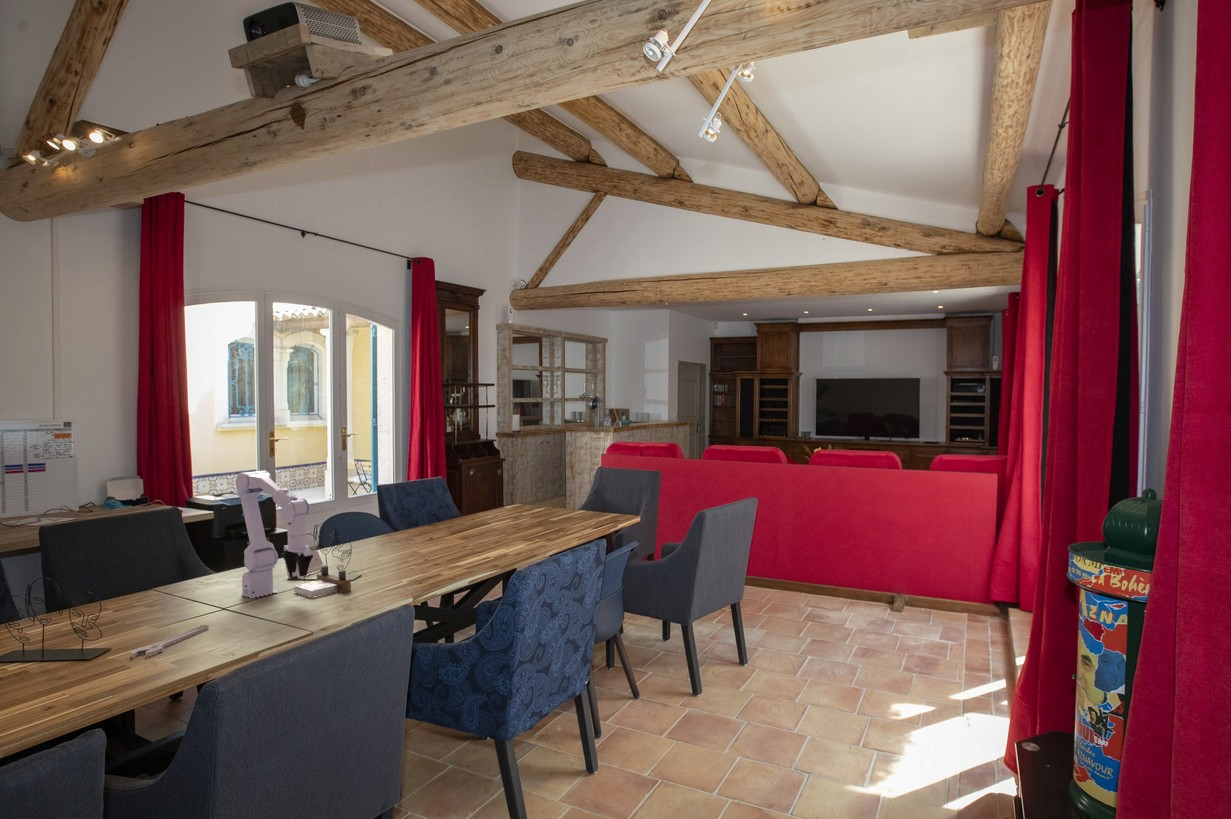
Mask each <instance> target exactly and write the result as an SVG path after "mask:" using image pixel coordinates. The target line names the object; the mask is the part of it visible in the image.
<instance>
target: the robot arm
mask: <svg viewBox="0 0 1231 819" xmlns="http://www.w3.org/2000/svg"><path fill="white" fill-rule="evenodd" d="M271 475H272V474H271V473H269V471H267V470H265V469H264V470H256V471H247V472H240V473H238V474H237V477H236V478H235V480H234V482H235V486H236V493H237V495H238V496H237V497H238V498H240V502H241V507H242V512H243V516H244V522H245V525H246V526H245V527H246V530H247V535H248V540H249V545H248V546H247V547H246V548H245V549H244V551H243V555H244V559H243V563H244V567H245V568H246V569H247V570H248V571H247V572H244V573H243V574H242V575H241V576H242V578H241V584H242V586H241V588H242V590H241V591H242V593H241V596H242V595H243V597H245V596H246V598H248V597H249V598H248V599H251V598H253V599H256V598H255V597H257V598H260V597H259V596H262V597H264V596H263V595H266V596H269V595H268V594H270V595H273V594H272V593H275V594H277V593H276V592H278V593H279V590H274V575H273V574H274V572H273V569H274V568H276V567H275V566H276V565H277V563H278V561H279V555H278V552H277V550H276V549H275V546H274V544H273V543H272V542H270V541H268V540H267V537H266V532H265V527H264V524H263V523H264V522H263V519H262V515H261V511H260V506H259V501H258V498H259V496H261V495H262V494H263V493H264V492H266V493H268V494H269V495H270V496H272V501H273V502H274V503H275V504H276V505H277V506H278V507H280V508H281V509H282V512H283V515H284V517H285V522H286V524H287V527H286V528H287V544H285V545H283V551H284V552H283V553H281V556H282V558H283V560H284V561H285V562H286V565H287V568H288V572H289V573H293V572H296V565H297V564H298V568H299V575H300V576H306V575H307V572H308V567H309V564H310V562H311V560H312V558H313V555H312V554H311V549H310V545H308V544H307V536H306V535H307V530H306V528H307V527H306V526H307V524H306V523H307V522H306V515H307V514H308V513H309V510H310V505H309V502H308V501H307V500H306V498H303V497H302V498H298V497H297V496H296V495H294V494H293V493H292V492H291V491H289V489H288V488H280V487H279V486H278V485H277V483H276V482H275V481H274V480H272V476H271ZM299 554H301V556H298V555H299ZM285 562H284V563H285ZM286 565H285V566H286ZM306 577H307V576H306Z"/></svg>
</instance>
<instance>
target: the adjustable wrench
mask: <svg viewBox="0 0 1231 819" xmlns="http://www.w3.org/2000/svg"><path fill="white" fill-rule="evenodd" d="M208 628H209V629H210V627H209V624H203V625H200V626H197V627H195V628H192V629H190V630H187V631H184V632H182V633H180V634H178V635H175V636H172V637H170V638H167V639H165V640H163V641H161V642H158V643H155V644H151V645H147V646H143V647H138V648H136V649H134V650H132V651H131V652H130V658H131V657H132V658H131V659H135V658H136V657H138V656H140V654H141V655H145V658H150V657H153V656H152V655H154V656H156V655H158V654H157V653H159V652H161V653H163V652H164V650H165V648H167V647H166V646H168V647H170V646H172V645H174V643H175V644H177V643H179V642H178V641H180V642H182V641H184V640H186V639H185V638H187V639H188V637H189V638H191V637H193V636H192V635H194V636H196V635H198V634H197V633H199V632H201V633H203V632H205V631H204V630H206V629H208ZM209 629H208V630H209ZM202 631H203V632H202ZM206 631H207V630H206ZM195 634H196V635H195ZM199 634H200V633H199ZM190 636H191V637H190ZM183 639H184V640H183ZM181 640H182V641H181ZM176 642H177V643H176ZM171 644H172V645H171ZM169 645H170V646H169ZM164 647H165V648H164ZM144 653H145V654H144ZM155 654H156V655H155ZM159 654H160V653H159ZM137 655H138V656H137ZM149 656H150V657H149Z"/></svg>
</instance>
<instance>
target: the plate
mask: <svg viewBox="0 0 1231 819" xmlns="http://www.w3.org/2000/svg"><path fill="white" fill-rule="evenodd" d="M293 589H294V592H296V593H300V594H303V595H306V596H310V597H314V596H319V595H323V594H327V595H330V594H329V593H331V594H334V593H333V592H335V593H338V592H339V591H338V585H337V584H334V583H330V582H326V581H323V580H318V581H317V580H313V581H310V582H306V583H300V584H297V585H294V587H293ZM337 591H338V592H337ZM296 593H295V594H296ZM300 594H299V595H300ZM303 595H302V596H303ZM306 596H305V597H306ZM323 596H324V595H323ZM319 597H320V596H319Z"/></svg>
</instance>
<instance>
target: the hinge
mask: <svg viewBox="0 0 1231 819" xmlns="http://www.w3.org/2000/svg"><path fill="white" fill-rule="evenodd" d="M310 550H311V549H310ZM311 554H312V555H313V558H312V560H311V562H310V564H309V567H308V572H307V574H309V573H312V572H315V571H318V570H321V567H322V566H327V565H326V564H325V563H324V562H323V561H322V558H321V556H320V554H319V552H318V551H317V550H314V549H313V550H311ZM298 556H301V554H299V555H298ZM284 565H285V570H286V575H287V578H288V577H289V578H288V579H292V578H295V577H297V579H298V578H300V577H302V576H300V575H299V568H298V564H297V565H296V572H293V573H289V572H288V568H287V565H286V562H284ZM291 577H292V578H291ZM300 579H301V578H300Z"/></svg>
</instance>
